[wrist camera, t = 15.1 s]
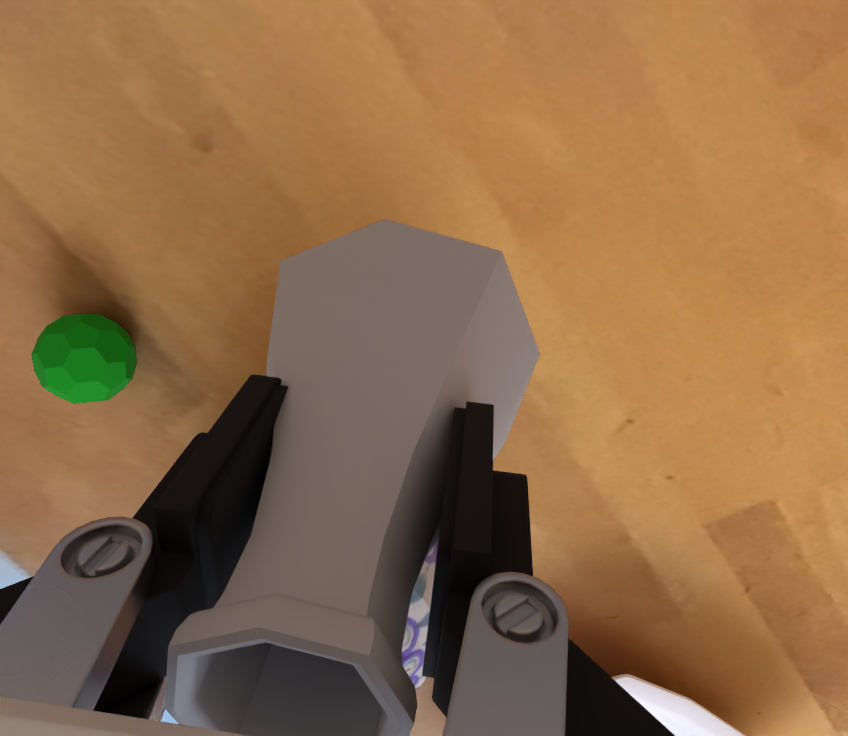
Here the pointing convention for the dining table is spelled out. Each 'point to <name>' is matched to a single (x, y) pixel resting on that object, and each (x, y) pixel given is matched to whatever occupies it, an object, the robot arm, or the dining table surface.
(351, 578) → the flask
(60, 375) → the polyhedron
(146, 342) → the dining table surface
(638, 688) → the bowl
